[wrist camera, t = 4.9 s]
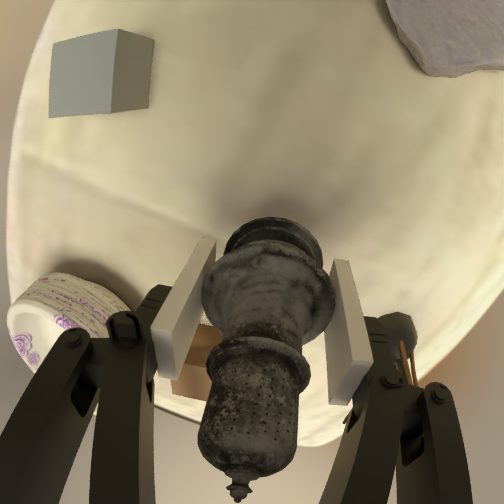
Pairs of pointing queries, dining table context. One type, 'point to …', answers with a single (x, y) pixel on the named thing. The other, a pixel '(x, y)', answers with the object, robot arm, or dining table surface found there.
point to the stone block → (451, 34)
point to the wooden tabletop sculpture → (401, 343)
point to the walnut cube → (197, 365)
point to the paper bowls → (58, 314)
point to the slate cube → (100, 74)
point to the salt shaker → (261, 346)
